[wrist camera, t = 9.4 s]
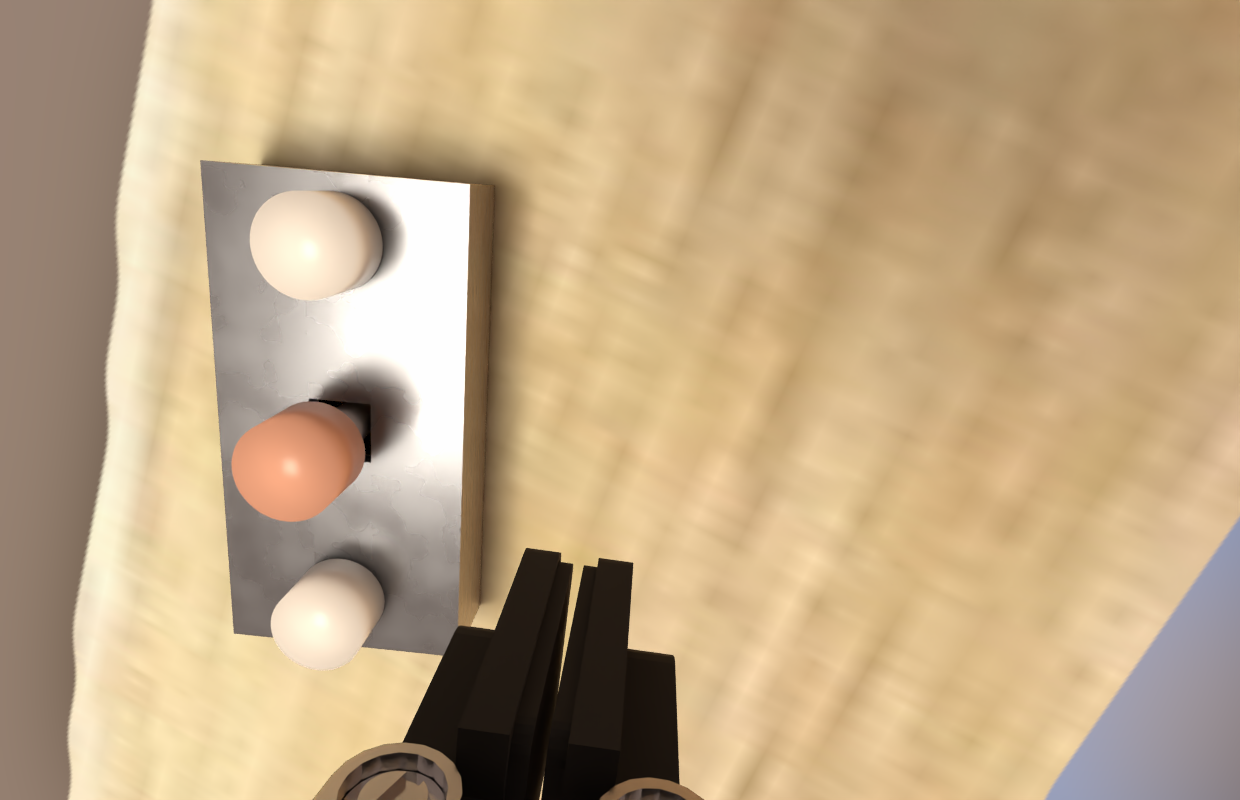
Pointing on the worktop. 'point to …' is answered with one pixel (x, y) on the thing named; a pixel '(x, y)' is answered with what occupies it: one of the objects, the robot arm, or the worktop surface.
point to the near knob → (315, 243)
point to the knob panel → (363, 395)
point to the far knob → (328, 614)
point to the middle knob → (301, 458)
